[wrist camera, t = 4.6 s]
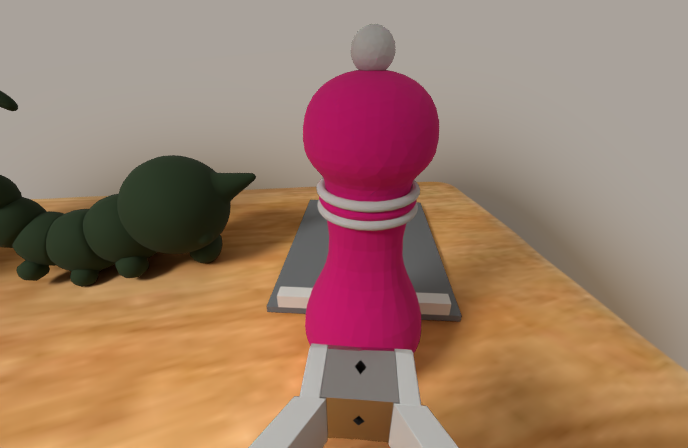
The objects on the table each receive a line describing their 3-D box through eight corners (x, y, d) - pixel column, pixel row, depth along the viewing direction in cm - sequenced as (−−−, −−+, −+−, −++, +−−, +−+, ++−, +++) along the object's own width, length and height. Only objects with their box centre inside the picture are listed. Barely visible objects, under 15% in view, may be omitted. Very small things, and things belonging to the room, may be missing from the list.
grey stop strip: (447, 320, 25) (451, 304, 24) (279, 312, 26) (276, 296, 25) (444, 310, 26) (447, 293, 25) (282, 302, 27) (280, 286, 26)
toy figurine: (-15, 326, 27) (272, 271, 30) (-237, 93, 17) (214, 49, 20) (54, 263, 35) (273, 226, 38) (-73, 82, 25) (232, 52, 28)
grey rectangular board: (460, 321, 25) (461, 315, 24) (267, 311, 26) (266, 306, 25) (419, 206, 44) (420, 202, 44) (310, 203, 45) (310, 199, 45)
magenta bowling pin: (318, 321, 25) (302, 32, 15) (408, 328, 24) (450, 30, 15) (298, 411, 18) (248, 13, 9) (419, 423, 18) (506, 9, 8)
